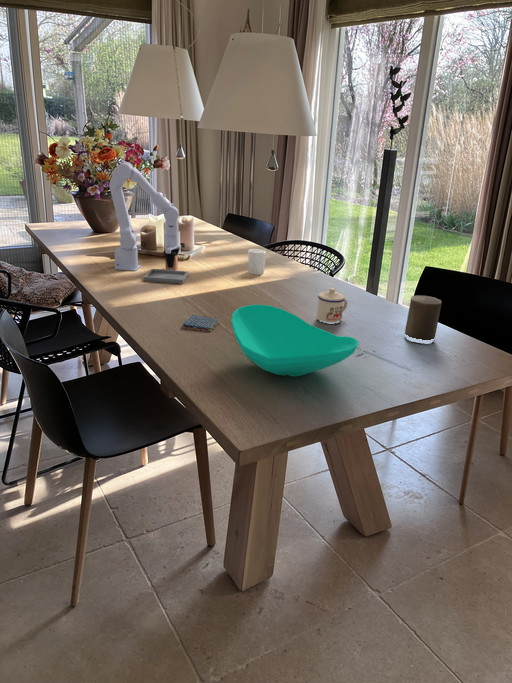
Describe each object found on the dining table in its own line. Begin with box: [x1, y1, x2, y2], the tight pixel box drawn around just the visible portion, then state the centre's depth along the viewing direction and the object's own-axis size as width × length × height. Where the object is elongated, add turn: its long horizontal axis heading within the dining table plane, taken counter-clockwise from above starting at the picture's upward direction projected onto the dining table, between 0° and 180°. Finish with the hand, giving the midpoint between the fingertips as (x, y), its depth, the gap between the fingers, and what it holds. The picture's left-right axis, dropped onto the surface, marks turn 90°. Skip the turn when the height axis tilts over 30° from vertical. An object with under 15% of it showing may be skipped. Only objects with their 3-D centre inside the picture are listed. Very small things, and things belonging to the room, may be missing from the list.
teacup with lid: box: [316, 287, 348, 322], centre depth 193 cm, size 12×9×12 cm
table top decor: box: [231, 304, 360, 377], centre depth 152 cm, size 40×28×13 cm
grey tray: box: [143, 268, 190, 285], centre depth 232 cm, size 16×13×2 cm
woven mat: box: [181, 314, 220, 333], centre depth 183 cm, size 10×11×2 cm
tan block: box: [164, 255, 179, 271], centre depth 244 cm, size 4×4×6 cm
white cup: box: [247, 248, 267, 276], centre depth 246 cm, size 8×8×10 cm
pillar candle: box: [404, 295, 442, 340], centre depth 180 cm, size 10×10×15 cm
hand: (171, 266), depth 244 cm, fingers closed on tan block, 4 cm apart
